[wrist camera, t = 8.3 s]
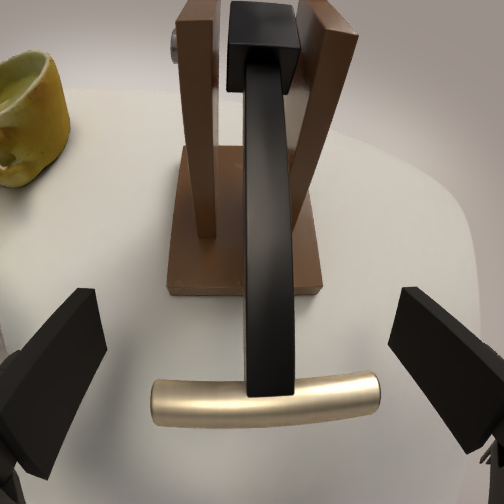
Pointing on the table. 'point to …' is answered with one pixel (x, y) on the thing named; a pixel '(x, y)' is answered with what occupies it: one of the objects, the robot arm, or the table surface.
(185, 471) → the table surface
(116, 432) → the table surface
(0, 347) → the alarm clock
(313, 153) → the wooden lever stand
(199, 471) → the table surface
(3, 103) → the mug
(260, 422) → the switch lever
